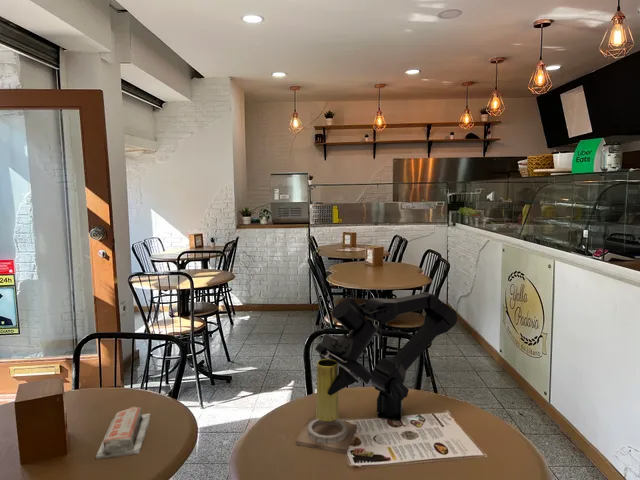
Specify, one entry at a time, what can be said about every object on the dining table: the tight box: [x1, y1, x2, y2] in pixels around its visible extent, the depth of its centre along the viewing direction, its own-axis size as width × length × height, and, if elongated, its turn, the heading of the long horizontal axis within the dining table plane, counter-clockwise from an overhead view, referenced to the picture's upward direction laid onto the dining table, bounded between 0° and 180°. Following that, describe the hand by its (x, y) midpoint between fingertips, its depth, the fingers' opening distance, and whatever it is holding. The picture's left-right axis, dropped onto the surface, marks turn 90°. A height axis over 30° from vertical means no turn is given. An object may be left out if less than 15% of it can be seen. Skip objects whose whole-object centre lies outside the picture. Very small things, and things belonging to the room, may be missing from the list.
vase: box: [315, 358, 340, 421], centre depth 112 cm, size 6×6×14 cm
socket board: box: [295, 417, 358, 454], centre depth 113 cm, size 13×12×2 cm
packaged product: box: [95, 406, 151, 460], centre depth 113 cm, size 18×5×10 cm
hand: (322, 390), depth 111 cm, fingers closed on vase, 5 cm apart
